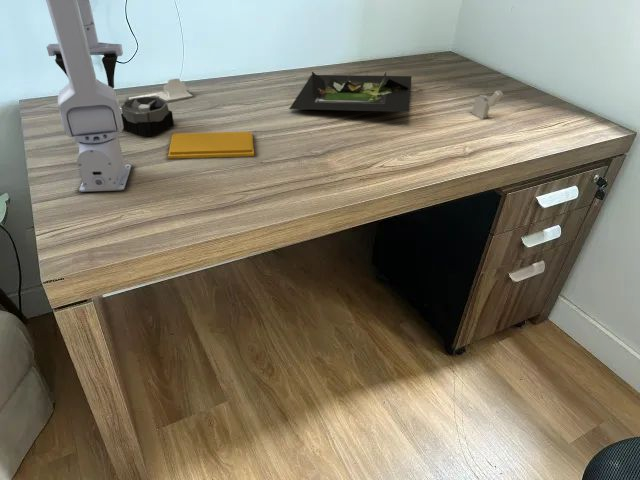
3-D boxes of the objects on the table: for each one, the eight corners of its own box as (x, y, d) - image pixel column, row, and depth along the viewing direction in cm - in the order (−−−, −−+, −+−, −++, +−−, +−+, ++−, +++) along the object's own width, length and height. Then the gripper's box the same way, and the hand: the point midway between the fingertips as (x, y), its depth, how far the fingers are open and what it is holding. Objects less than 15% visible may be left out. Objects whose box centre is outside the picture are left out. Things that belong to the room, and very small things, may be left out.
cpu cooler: (144, 92, 117) (176, 101, 114) (148, 115, 121) (180, 124, 117) (110, 105, 110) (143, 116, 106) (115, 129, 113) (148, 140, 110)
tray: (254, 156, 106) (254, 150, 105) (168, 159, 103) (167, 153, 102) (252, 136, 114) (251, 131, 113) (172, 138, 111) (171, 133, 110)
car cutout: (182, 89, 136) (180, 73, 133) (192, 97, 132) (190, 80, 129) (128, 99, 128) (125, 82, 126) (137, 107, 124) (134, 90, 122)
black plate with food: (412, 60, 141) (409, 93, 117) (410, 87, 145) (407, 124, 121) (310, 59, 146) (287, 91, 122) (312, 85, 150) (290, 121, 126)
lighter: (471, 113, 131) (478, 83, 126) (475, 112, 132) (483, 82, 127) (491, 122, 126) (499, 92, 122) (495, 121, 127) (504, 91, 122)
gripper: (119, 18, 104) (131, 81, 112) (46, 17, 102) (64, 82, 110) (113, 27, 99) (126, 92, 107) (36, 26, 97) (55, 93, 105)
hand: (94, 88), depth 108 cm, fingers open, 7 cm apart
